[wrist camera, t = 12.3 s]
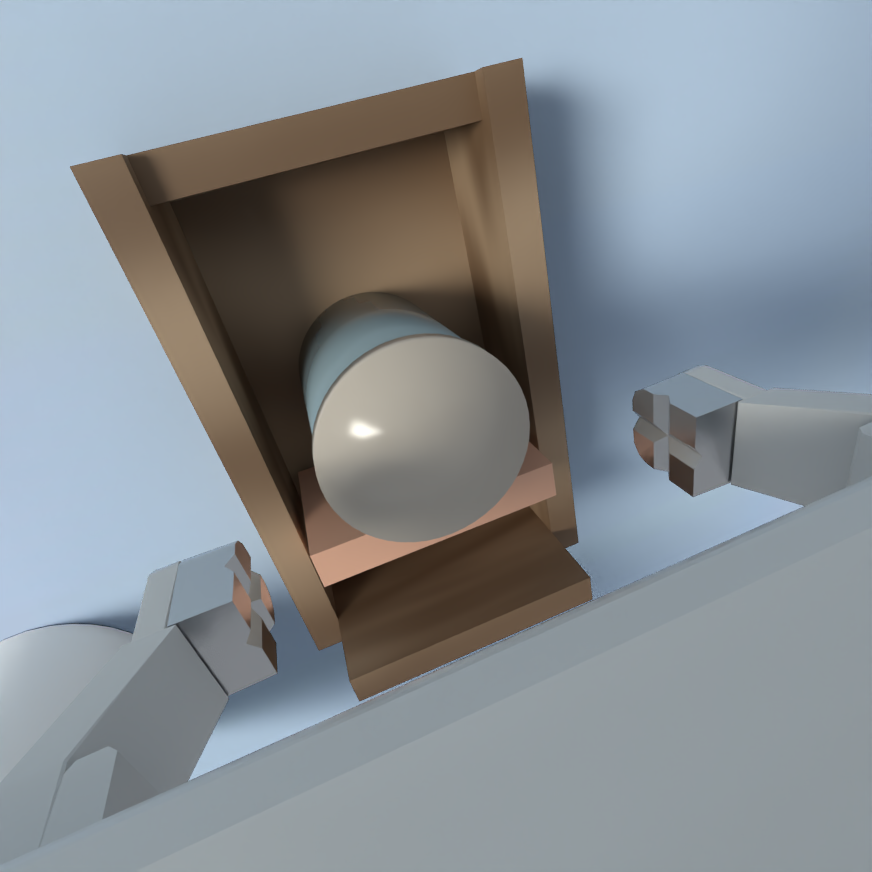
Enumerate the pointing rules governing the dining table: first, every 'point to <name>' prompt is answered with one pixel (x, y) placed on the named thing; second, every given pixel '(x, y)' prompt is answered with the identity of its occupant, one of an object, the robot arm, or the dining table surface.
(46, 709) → the cylindrical container
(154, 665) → the robot arm
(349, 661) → the brown wooden open box
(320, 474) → the jar
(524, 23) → the dining table surface
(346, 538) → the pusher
